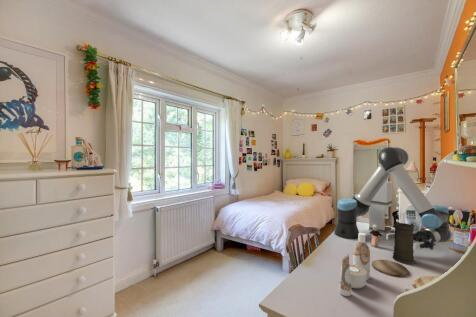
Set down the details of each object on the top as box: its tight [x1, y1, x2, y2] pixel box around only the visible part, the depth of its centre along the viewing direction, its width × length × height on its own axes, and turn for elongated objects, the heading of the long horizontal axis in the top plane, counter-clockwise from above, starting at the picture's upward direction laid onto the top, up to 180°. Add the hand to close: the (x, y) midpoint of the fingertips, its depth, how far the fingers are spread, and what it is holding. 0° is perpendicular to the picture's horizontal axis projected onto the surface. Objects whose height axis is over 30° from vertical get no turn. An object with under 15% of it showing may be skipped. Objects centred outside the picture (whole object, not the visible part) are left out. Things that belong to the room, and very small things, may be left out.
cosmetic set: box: [338, 232, 371, 297], centre depth 95 cm, size 25×9×19 cm, turn 135°
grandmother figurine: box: [368, 225, 384, 249], centre depth 136 cm, size 8×4×13 cm, turn 47°
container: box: [392, 222, 416, 265], centre depth 118 cm, size 9×9×18 cm
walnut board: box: [371, 259, 409, 278], centre depth 109 cm, size 14×14×1 cm
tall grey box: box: [368, 180, 393, 235], centre depth 166 cm, size 11×11×35 cm
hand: (399, 241), depth 117 cm, fingers open, 13 cm apart
